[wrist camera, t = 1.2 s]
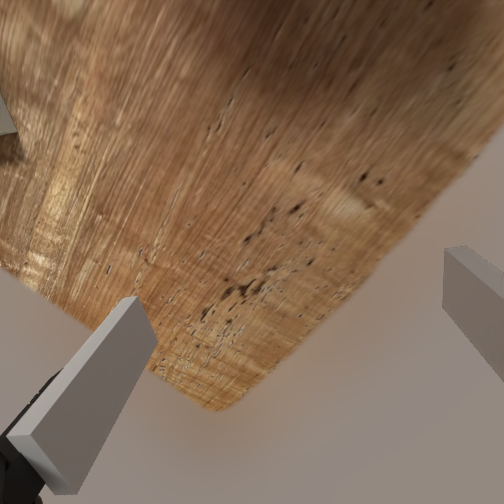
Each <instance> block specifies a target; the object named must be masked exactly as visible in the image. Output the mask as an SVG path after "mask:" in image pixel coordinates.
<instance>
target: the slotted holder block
mask: <svg viewBox="0 0 504 504" xmlns="http://www.w3.org/2000/svg"><path fill="white" fill-rule="evenodd" d="M15 132H17V129H16V127H15V125H14V123H13V120H12V118H11V116H10V114H9V111H8V109H7V107H6V105H5V102H4V100H3V98H2V96H1V93H0V135H5V134H10V133H15Z"/></svg>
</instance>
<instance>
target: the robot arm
mask: <svg viewBox="0 0 504 504" xmlns="http://www.w3.org/2000/svg"><path fill="white" fill-rule="evenodd" d="M442 307H443V308H444V310H445V311H446V312H447V313H448V315H449V316H450V317H451V318H452V319H453V320H454V322H455V323H456V324H457V325H458V327H459V328H460V329H461V330H462V332H463V333H464V334H465V335H466V337H467V338H468V339H469V340H470V341H471V343H472V344H473V345H474V346H475V347H476V349H477V350H478V351H479V352H480V354H481V355H482V356H483V357H484V358H485V360H486V361H487V362H488V363H489V365H490V366H491V367H492V368H493V369H494V371H495V372H496V373H497V374H498V376H499V377H500V378H501V379H502V380H503V382H504V273H503V272H502V271H500V270H499V269H497V268H496V267H495V266H493V265H492V264H491V263H489V262H488V261H487V260H485V259H484V258H482V257H481V256H480V255H478V254H477V253H475V252H474V251H473V250H471V249H470V248H469V247H467V246H460V247H454V248H447V249H445V251H444V279H443V306H442ZM157 343H158V340H157V338H156V336H155V333H154V331H153V329H152V327H151V324H150V322H149V320H148V317H147V315H146V313H145V311H144V308H143V306H142V304H141V302H140V299H139V297H138V296H133V297H126V298H123V299H122V300H121V301H120V302H119V303H118V305H117V306H116V307H115V308H114V309H113V310H112V312H111V313H110V314H109V315H108V316H107V318H106V319H105V320H104V321H103V322H102V323H101V325H100V326H99V327H98V328H97V329H96V330H95V332H94V333H93V334H92V335H91V336H90V338H89V339H88V340H87V341H86V342H85V344H84V345H83V346H82V347H81V348H80V349H79V351H78V352H77V353H76V354H75V355H74V357H73V358H72V359H71V360H70V361H69V362H68V364H67V365H66V366H65V367H64V368H62V370H60V371H59V372H58V373H56V374H55V375H54V376H53V377H51V378H50V379H49V380H48V381H47V383H46V384H45V385H44V386H43V387H42V389H41V390H40V391H39V394H36V395H35V396H34V398H33V399H32V400H31V401H30V404H28V405H27V406H26V407H25V408H24V409H23V410H22V411H21V413H20V414H19V415H18V416H17V417H16V419H15V420H14V421H13V422H12V423H11V424H10V426H8V428H7V429H6V430H5V431H4V432H3V433H2V435H1V436H0V504H43V503H42V499H41V497H40V496H39V495H38V494H39V493H40V491H41V489H42V488H43V486H44V485H45V484H46V485H47V486H48V487H49V488H50V490H51V491H52V492H53V493H54V494H55V495H73V494H77V493H78V491H79V489H80V487H81V486H82V484H83V482H84V480H85V478H86V476H87V474H88V473H89V471H90V469H91V467H92V465H93V463H94V461H95V460H96V457H97V456H98V454H99V452H100V450H101V448H102V446H103V444H104V443H105V441H106V439H107V437H108V435H109V433H110V431H111V429H112V427H113V426H114V424H115V422H116V420H117V418H118V416H119V414H120V413H121V411H122V409H123V407H124V405H125V403H126V401H127V400H128V398H129V396H130V394H131V392H132V390H133V388H134V386H135V385H136V382H137V381H138V379H139V377H140V375H141V373H142V371H143V370H144V368H145V366H146V364H147V362H148V360H149V358H150V356H151V355H152V353H153V351H154V349H155V347H156V345H157Z"/></svg>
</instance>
